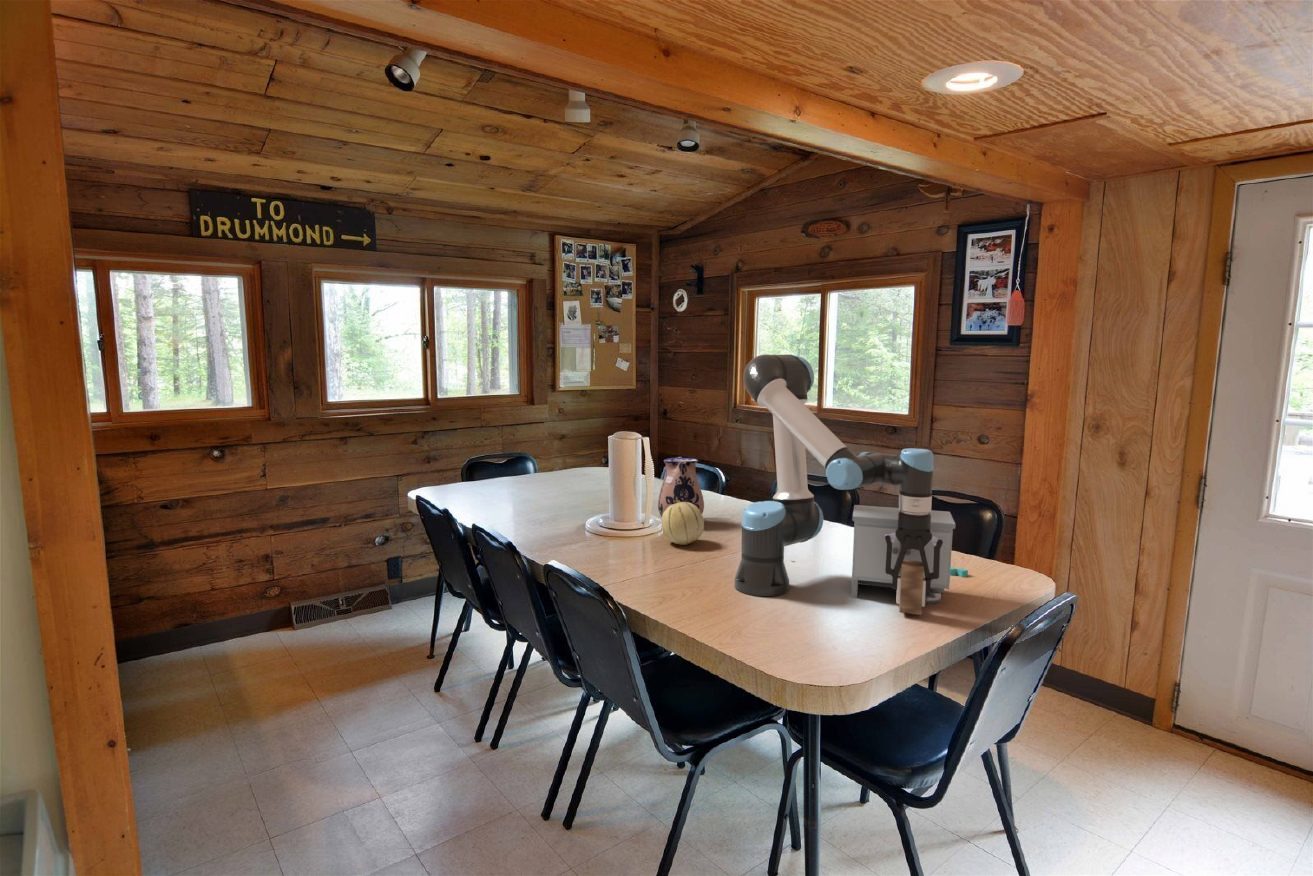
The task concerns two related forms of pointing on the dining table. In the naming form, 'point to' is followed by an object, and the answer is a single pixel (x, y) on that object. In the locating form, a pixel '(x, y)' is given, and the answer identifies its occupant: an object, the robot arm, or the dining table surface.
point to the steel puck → (932, 597)
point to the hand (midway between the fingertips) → (910, 603)
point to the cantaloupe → (682, 523)
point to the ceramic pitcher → (680, 484)
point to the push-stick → (911, 587)
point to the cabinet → (894, 547)
